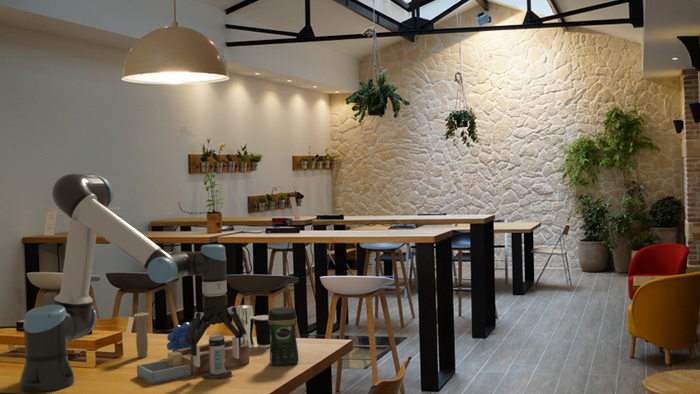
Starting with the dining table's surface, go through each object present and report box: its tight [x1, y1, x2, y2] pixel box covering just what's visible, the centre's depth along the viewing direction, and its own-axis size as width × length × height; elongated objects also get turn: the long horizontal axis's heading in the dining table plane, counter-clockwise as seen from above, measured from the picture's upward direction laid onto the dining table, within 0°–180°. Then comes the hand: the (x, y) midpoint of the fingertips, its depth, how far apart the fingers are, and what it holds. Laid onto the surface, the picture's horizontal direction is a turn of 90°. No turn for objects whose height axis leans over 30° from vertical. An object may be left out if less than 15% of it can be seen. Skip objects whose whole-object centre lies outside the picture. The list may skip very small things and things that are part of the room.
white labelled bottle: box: [208, 333, 227, 375], centre depth 208 cm, size 5×5×12 cm
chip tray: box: [136, 358, 192, 385], centre depth 209 cm, size 12×12×4 cm
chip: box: [167, 363, 182, 369], centre depth 211 cm, size 3×4×3 cm
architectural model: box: [69, 348, 81, 354], centre depth 238 cm, size 3×7×7 cm, turn 21°
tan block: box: [167, 351, 182, 365], centre depth 211 cm, size 3×4×3 cm
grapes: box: [166, 322, 198, 352], centre depth 234 cm, size 12×7×12 cm, turn 89°
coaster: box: [202, 369, 233, 380], centre depth 208 cm, size 9×9×1 cm
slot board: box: [177, 339, 250, 376], centre depth 220 cm, size 20×12×6 cm, turn 129°
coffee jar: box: [268, 306, 299, 367], centre depth 221 cm, size 10×8×19 cm
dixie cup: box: [254, 314, 270, 349], centre depth 245 cm, size 8×8×11 cm
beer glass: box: [235, 304, 255, 349], centre depth 244 cm, size 7×7×15 cm
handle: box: [133, 312, 150, 359], centre depth 234 cm, size 5×6×15 cm
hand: (216, 361), depth 208 cm, fingers open, 13 cm apart
